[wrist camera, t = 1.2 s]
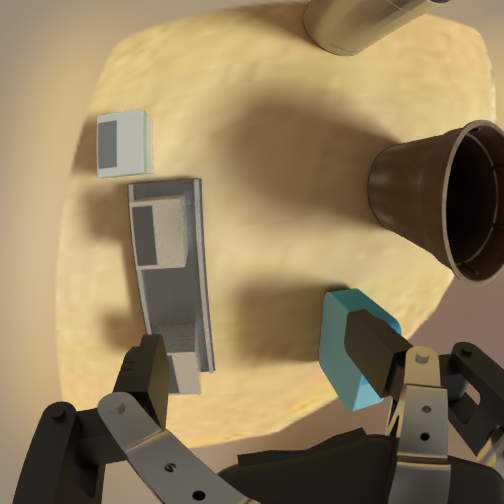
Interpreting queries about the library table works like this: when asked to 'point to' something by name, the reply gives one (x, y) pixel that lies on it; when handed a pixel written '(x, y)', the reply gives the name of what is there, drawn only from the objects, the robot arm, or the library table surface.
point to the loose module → (124, 144)
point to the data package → (333, 351)
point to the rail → (173, 275)
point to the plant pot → (447, 198)
